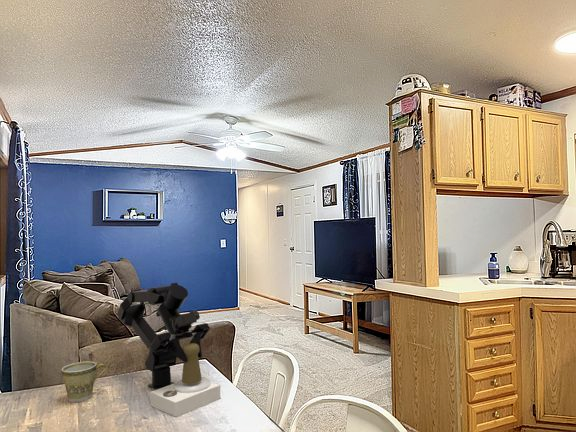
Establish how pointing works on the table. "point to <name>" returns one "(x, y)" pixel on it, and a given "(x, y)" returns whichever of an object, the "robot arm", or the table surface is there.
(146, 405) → the table surface
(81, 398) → the ceramic cup
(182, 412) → the kitchen scale
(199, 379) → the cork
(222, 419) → the table surface
